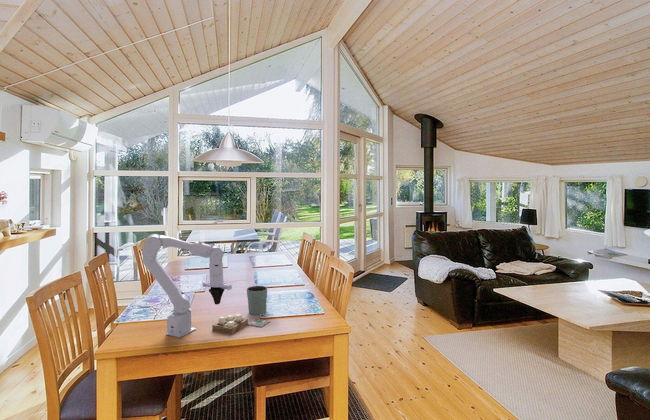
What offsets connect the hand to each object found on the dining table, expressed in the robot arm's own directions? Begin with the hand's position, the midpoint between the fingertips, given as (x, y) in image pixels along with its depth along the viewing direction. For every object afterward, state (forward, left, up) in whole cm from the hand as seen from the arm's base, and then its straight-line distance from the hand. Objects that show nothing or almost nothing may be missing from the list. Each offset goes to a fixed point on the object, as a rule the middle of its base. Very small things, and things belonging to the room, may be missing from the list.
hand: (217, 303), depth 159 cm
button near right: (-1, -8, -10) cm, 13 cm away
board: (+2, -6, -10) cm, 12 cm away
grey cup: (+23, -6, -11) cm, 26 cm away
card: (+11, -15, -10) cm, 21 cm away
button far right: (+4, -8, -8) cm, 12 cm away
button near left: (-1, -3, -8) cm, 9 cm away
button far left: (+4, -3, -10) cm, 11 cm away
